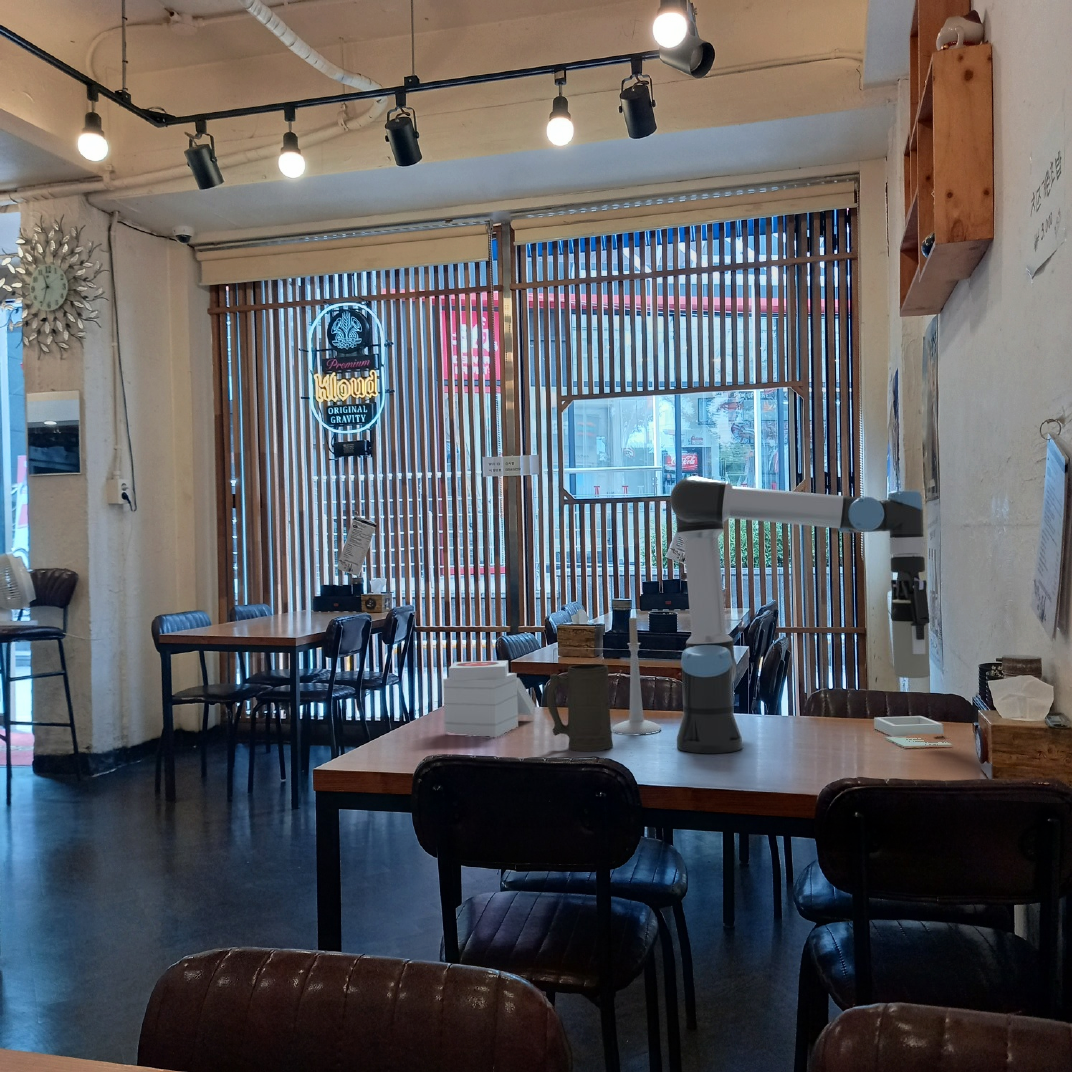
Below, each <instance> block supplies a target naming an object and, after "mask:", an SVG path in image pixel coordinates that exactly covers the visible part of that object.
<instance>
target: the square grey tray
mask: <svg viewBox="0 0 1072 1072" xmlns="http://www.w3.org/2000/svg"><path fill="white" fill-rule="evenodd" d="M873 722H874V724H873V725H874V730H875V729H878V730H880V731H883V732H884V733H886V734H889V735H891V736H907V735H917V734H943V735H944V724H943V723H941V722H937V721H935V720H933V719H930V718H927V717H925V716H921V715H913V716H912V715H911V716H910V715H909V716H885V717H881V716H880V717H878V716H877V717H874V718H873Z"/></svg>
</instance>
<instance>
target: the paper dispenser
mask: <svg viewBox="0 0 1072 1072" xmlns="http://www.w3.org/2000/svg"><path fill="white" fill-rule="evenodd" d="M517 674H518V673H517V672H516V673H515V672H509V660H506V659H505V660H485V661H484V660H483V661H482V660H481V661H480V660H479V661H454V662H453V663H452V664H451V665H450V666H449V667H448V677H445V678H443V679H442V681H443V682H442V683H443V685H442V686H443V716H444V717H443V718H444V722H443V723H444V733H445V732H450V733H455V734H467V735H476V736H490V737H489V738H493V737H496V738H498V737H500V735H501V734H503V735H505V734H506V733H505V732H507V731H509V730H511V729H513V728H515V727H516V726H518V727H519V716H534V714H535V710H536V704H535V702H534V701H533V699H532V697H531V696H530V694H529V692H528V690H527V689H526V687H525V685H524V684H523V681H522V679H520V677H517ZM509 732H510V731H509ZM504 733H505V734H504ZM507 733H508V732H507ZM497 736H498V737H497ZM501 736H502V735H501Z"/></svg>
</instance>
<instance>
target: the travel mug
mask: <svg viewBox="0 0 1072 1072" xmlns="http://www.w3.org/2000/svg"><path fill="white" fill-rule="evenodd" d="M892 602H893V604H894V610H893V612H892V620H891V634H892V635H891V636H892V637H891V638H892V666H893V667H892V668H893V675H894V676H895V677H898V678H904V679H905V678H906V679H922V678H923V679H926V678H928V677H930V676H931V671H930V669H931V665H930V643H929V642H930V641H929V639H930V638H929V637H930V636H929V623H926V625H925V653H926V654H913V650H912V626H911V623H913V619H912V614H911V610H910V603H911V601H908V600H893V601H892Z"/></svg>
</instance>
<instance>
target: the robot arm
mask: <svg viewBox="0 0 1072 1072" xmlns="http://www.w3.org/2000/svg"><path fill="white" fill-rule="evenodd" d="M669 497H670V498H669V499H670V500H669V501H670V507H671V510H672V512H673V513H674V514H675V522H676V535H678V536H679V537H680V538H681V539H682V541H683V546H684V557H685V558H684V559H685V570H686V583H687V594H688V606H689V608H688V609H689V619H690V621H689V622H690V631H691V635H690V636H689V638H688V639H687V640H686V642H685V646H686V648H685V649H684V650H683V652H682V653H681V660H680V666H681V667H680V668H681V682H682V687H681V688H682V705H683V707H682V709H683V711H682V712H683V715H682V719H681V723H680V725H679V730H678V733H677V736H676V748H677V749H678V750H680V751H684V752H689V753H693V754H694V753H695V754H724V753H725V754H726V753H732V752H737V751H741V750H742V748H743V739H742V738H743V737H742V734H741V732H740V728H739V727H738V723H737V721H736V719H735V718H736V717H735V715H734V694H733V693H734V691H733V684H734V682H735V681H736V678H737V674H738V665H737V662H736V658H735V651H734V649H735V647H734V638H733V637H731V636H730V635H729V634H728V633H727V630H726V629H727V625H726V615H725V605H724V604H725V603H724V591H723V589H724V588H723V579H722V568H721V567H722V565H721V555H720V545H719V544H720V543H719V537H720V535H721V534H722V533H723V532H724V531H725V529H724V522H726V521H727V520H729V519H733V520H734V519H735V520H746V521H758V522H767V523H777V524H778V523H779V524H789V525H799V526H801V525H802V526H812V527H822V528H831V529H832V528H833V529H837V531H838V532H839V533H849V534H853V533H874V532H875V533H876V532H888V533H889V554H890V555H892V557H891V558H890V572H891V573H894V574H895V573H897V576H896V579H891V580H890V585H891V601H890V602H891V603H890V619H891V621H892V612H893V610H894V604H893V602H892V601H893V600H908V601H911V603H910V610H911V614H912V619H913V623H911V626H912V650H913V654H926V653H925V625H926V623H928V624H930V622H931V620H930V611H929V610H930V609H929V602H928V601H929V600H928V593H927V585H928V584H927V580H926V579H925V580H921V578H920V574H919V573H924V572H925V570H926V568H925V566H926V562H925V561H926V560H925V559H926V558H925V556H922V555H924V553H925V545H926V541H924V539H925V537H924V508H923V496H922V494H921V492H919V490H897V491H895V490H894V491H889V493H888V497H887V499H884V500H883V499H882V500H878V499H876V498H874V497H872V496H871V497H870V496H861V497H859V496H850V495H849V496H845V495H837V494H827V493H826V494H825V493H817V492H816V493H814V492H813V493H812V492H803V491H792V490H791V491H790V490H780V489H779V490H778V489H771V488H770V489H767V488H758V487H757V488H756V487H744V486H735V485H734V486H733V485H732V484H731V483H730V482H729V481H724V480H716V479H710V478H706V477H702V476H698V475H691V476H687V477H684V478H682V479H680V480H679V481H678V482H677V483H676V484H675V485H674V487H672V490H671V493H670V496H669Z"/></svg>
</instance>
